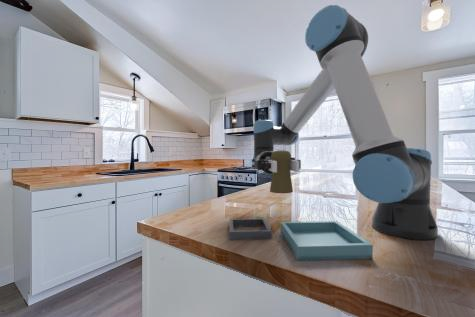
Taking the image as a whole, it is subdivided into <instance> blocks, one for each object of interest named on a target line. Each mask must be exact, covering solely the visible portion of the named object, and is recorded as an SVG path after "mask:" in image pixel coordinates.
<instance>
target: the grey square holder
mask: <svg viewBox="0 0 475 317" xmlns="http://www.w3.org/2000/svg"><path fill="white" fill-rule="evenodd" d="M234 227H262V229H251V230H250V229H249V230H248V229H247V230H245V229H244V230H241V229H240V230H234ZM272 233H273V232H272V229H271V226H270V225H269V223H268V221H267V220H266V218H262V217H261V218H260V217H259V218H229V240H230V241H231V240H235V241H236V240H269V239H270V240H271V239H273V237H272V236H273V235H272Z"/></svg>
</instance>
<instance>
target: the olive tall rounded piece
mask: <svg viewBox="0 0 475 317" xmlns="http://www.w3.org/2000/svg"><path fill="white" fill-rule="evenodd" d="M291 158H292V155H291V152H290V151H288V150H285V149H284V150H282V149H281V150H280V149H279V150H273V153H272V155H271V159H272V160H273V161H277V172H272V174H271V179H270V185H269V186H270V187H269V192H270V193H273V194H291V193H293V185H292V184H293V183H292V176H291V170H290V167H289V162H290V160H291Z"/></svg>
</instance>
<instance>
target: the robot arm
mask: <svg viewBox="0 0 475 317" xmlns="http://www.w3.org/2000/svg"><path fill="white" fill-rule="evenodd" d="M304 41H305V44H306V46H307V48H308V49H310V51H313V52H314V53H315V54H316V57H317V60H318V63H319V65H320V68H321V71H320V72H318V73H319V74H318V75H317V76H316V77H315V79H314V80H313V82H312V83H311V84H310V86H309V87H308V88H307V90H306V91H305V92H304V94H303V95H302V97H301V98H300V100H299V101H298V102H297V103H296V104H295V106H294V107H293V109H292V110H291V112H290V113H289V114H288V116H287V117H286V119H285V120H284V121H283V123H282V124H281V125H280V126H275V125H274V121H273V120H271V119H259V120H256V121H254V124H253V159H251V168H253V169H257V170H258V171H262V172H263V173H265V174H267V175H270V174H271V175H272V172H277V161H273V160H272V159H271V155H272V153H273V152H274V149H275V148H274V146H291V145H295V144H296V143H297V142H298V140H299V133H300V132H301V130H302V129H303V128H304V127H305V125H306V124H307V123H308V121H309V120H311V118H312V116H314V114H315V113H316V112H317V111H318V109H319V108H320V107H321V105H322V104H323V103H324V102H325V100H326V99H327V98H328V97H329V95H331V93H332V92H333V91H334V90H335V93H336V95H337V98H338V102H339V103H340V106H341V110H342V112H343V116H344V118H345V120H346V123H347V126H348V129H349V132H350V134H351V138H352V140H353V143H354V146H355V148H354V150H353V152H352V153H351V156H352V160H353V163H354V165H355V166H354V167H353V170H352V182H353V184H354V186H355V188H356V190H357V191H358V192H359V193H360V194H361V195H362V196H363V197H365V198H366V199H367V200H370V201H373V202H374V203H377V205H376V208H375V211H374V212H373V215H372V217H371V218H372V219H371V226H372V227H373V229H375V230H377V231H378V232H381V233H383V234H386V235H389V236H394V237H398V238H403V239H409V240H419V241H426V240H428V241H429V240H434V239H436V238H438V233H439V232H438V231H439V229H438V225H437V222H436V220H435V218H434V217H435V216H434V215H433V212H432V209H431V175H432V174H431V172H432V164H433V160H432V154H431V152H430V151H429V150H426V149H421V148H411V147H407V146H406V144H405V141H404V139H402V138H400V137H398V136H395V135H394V134H393V131H392V129H391V126H390V123H389V121H388V119H387V117H386V114H385V111H384V109H383V107H382V105H381V102H380V99H379V97H378V94H377V91H376V89H375V86H374V84H373V82H372V79H371V77H370V74H369V72H368V70H367V67H366V65H365V62H364V60H363V59H364V58H363V57H364V54H365V53H366V51H367V47H368V44H369V34H368V30H367V28H366V27H365V25H364V24H362V22H360V21H359V20H357V19H356V18H355V17H354V16H353V15H352V14H350V13H349V11H347V9H346V8H344V7H341V6H340V5H338V4H337V5H336V4H330V5H327V6H324V7H323V8H321V9H320V10H318V12H317V13H315V15H313V16H312V18H311V20H310V21H309V23H308V26H307V28H306V30H305V35H304ZM289 167H290V172H291V171H292V172H296V173H299V172H300V170H301V169H302V162H301V159H296V157H291V160H290V162H289Z"/></svg>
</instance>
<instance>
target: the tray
mask: <svg viewBox="0 0 475 317" xmlns="http://www.w3.org/2000/svg"><path fill="white" fill-rule="evenodd" d="M280 234H281V235H282V237H283V239H284V240H285V242H286V244H287V245H288V246H289V249H290V250H291V252H292V253H293V255H294V256H295V258H296V260H297V261H301V262H302V261H303V262H304V261H331V260H332V261H333V260H339V261H340V260H341V261H342V260H372V259H373V254H374V252H373V244H372V243H370V242H369V241H368V240H366V239H365V238H363V237H361V236H360V235H358V234H357V233H355V232H354V231H353V230H351V229H350V228H348V227H346V226H345V225H343V223H340V222H339V221H337V220H323V221H322V220H321V221H320V220H319V221H317V220H315V221H280Z"/></svg>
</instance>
